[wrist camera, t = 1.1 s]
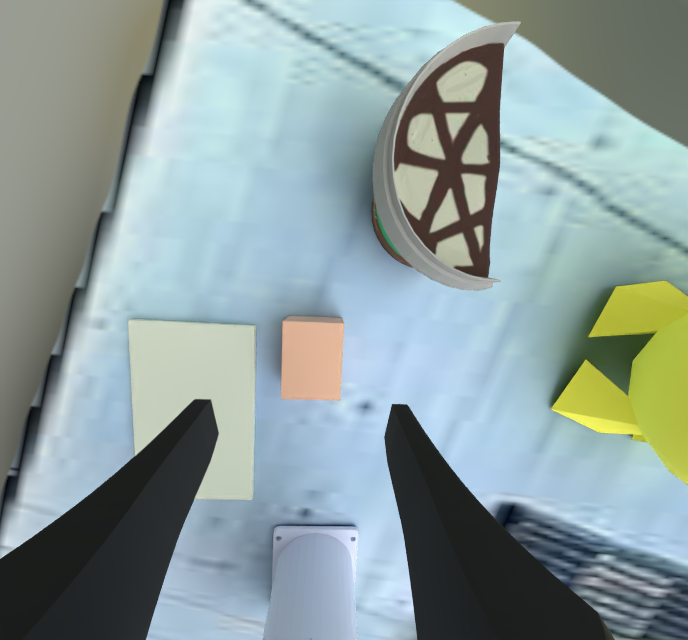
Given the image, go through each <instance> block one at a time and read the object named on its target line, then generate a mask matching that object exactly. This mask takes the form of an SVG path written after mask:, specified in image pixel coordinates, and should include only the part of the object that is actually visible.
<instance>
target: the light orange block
mask: <svg viewBox="0 0 688 640" xmlns="http://www.w3.org/2000/svg"><path fill="white" fill-rule="evenodd" d="M343 334H344V322H343V319H342V318H340V317H317V316H294V315H289V316H288V317H287V318H286V319H284V320H283V327H282V377H281V399H305V400H340V392H341V373H342V354H343Z"/></svg>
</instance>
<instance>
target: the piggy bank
mask: <svg viewBox="0 0 688 640" xmlns="http://www.w3.org/2000/svg"><path fill="white" fill-rule="evenodd" d="M638 334H655V335H654V336H653V337H652V338H651V340H650V341H649V342H648V343H647V344H646V346H645V347H644V348H643V349H642V350H641V351H640V353H639V354H638V355H637V356H636V357H635V359H634V360H633V362H632V369H631V377H630V384H629V392H628V396H627V395H626V394H625V393H624V392H623V391H622V390H621V389H619V388H618V387H617V386H616V385H615V384H614V383H613V382H611V381H610V380H609V379H608V378H607V377H606V376H604V375H603V374H602V373H601V372H600V371H599V370H598V369H596V368H595V367H594V366H593V365H592V364H591V363H590V362H588V361H587V360H585V361H584V363H583V364H582V366H581V367H580V368H579V370H578V371H577V373H576V374H575V375H574V377H573V378H572V380H571V381H570V383H569V384H568V385H567V387H566V388H565V390H564V391H563V392H562V394H561V395H560V397H559V398H558V400H557V401H556V402H555V404H554V405H553V407H552V408H551V410H553V411H555V412H557V413H559V414H561V415H564V416H566V417H568V418H570V419H572V420H574V421H576V422H578V423H580V424H582V425H584V426H586V427H589V428H591V429H593V430H595V431H597V432H599V433H616V434H633V437H632V440H637V441H643V442H648V443H649V444H650V446H651V447H652V448H653V450H654V451H655V452H656V454H657V455H658V456H659V458H660V459H661V461H662V462H663V463H664V465H665V466H666V467H667V469H668V470H669V471H670V472H671V473H672V474H674V475H675V476H676V477H678V478H679V479H680V480H682V481H683V482H684V483H686V484H687V485H688V296H687V295H685V294H684V293H683V292H681V291H680V290H678V289H677V288H676V287H674V286H673V285H671V284H670V283H669V282H667V281H657V282H649V283H641V284H633V285H625V286H617V287H616V288H615V289H614V291H613V293H612V295H611V297H610V298H609V300H608V302H607V304H606V306H605V307H604V309H603V311H602V313H601V315H600V316H599V318H598V320H597V322H596V324H595V325H594V327H593V329H592V331H591V332H590V334H589V336H588V337H600V336H619V335H638Z"/></svg>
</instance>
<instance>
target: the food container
mask: <svg viewBox="0 0 688 640" xmlns="http://www.w3.org/2000/svg"><path fill="white" fill-rule="evenodd" d="M520 23H521V22H520V21H519V22H502V23H498V24H493V25H489V26H485V27H482V28H479V29H477V30H475V31H472V32H470V33H468V34H465V35H464V36H462V37H460V38H459V39H457V40H456V41H454V42H453V43H451V44H450V45H448V46H447V47H446V48H444V49H443V50H441V51H439V52H438V53H437V54H436V55H434V56H433V57H432V58H431V59H430V60H429V61H428V62H427V63H426V64H424V65H423V66H422V67H421V69H420V70H419V71H418V72H417V74H416V75H415V76H414V77H413V78H412V80H411V81H410V82H409V83H408V85H407V86H406V87H405V89H404V90H403V91H402V92H401V94H400V95H399V96H398V98H397V99H396V100H395V102H394V104H393V105H392V107H391V109H390V111H389V112H388V114H387V116H386V118H385V120H384V123H383V125H382V128H381V130H380V133H379V135H378V140H377V144H376V148H375V153H374V160H373V172H372V178H373V193H374V199H373V202H372V222H373V226H374V231H375V233H376V235H377V238H378V240H379V241H380V243H381V245H382V246H383V248H384V249H385V250H386V251H387V252H388V253H389V254H390V255H391V256H392V257H393V258H394V259H396V260H397V261H399V262H401V263H402V264H405V265H407V266H409V267H413V268H415V269H416V270H417V271H419V272H420V273H422V274H424V275H425V276H427V277H428V278H430V279H432V280H434V281H436V282H439V283H441V284H443V285H446V286H449V287H453V288H458V289H462V290H473V291H479V290H483V289H486V288H490V287H493V282H501V280H498V279H492V278H488V275H489V266H490V257H489V255H490V237H491V225H492V217H493V209H494V203H495V196H496V190H497V183H498V175H499V168H500V98H501V83H502V69H503V56H504V48H505V46H506V44H507V43H508V41H509V40H510V38H511V37H512V35H513V34H514V32H515V31H516V29H517V28H518V26H519V25H520Z"/></svg>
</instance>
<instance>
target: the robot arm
mask: <svg viewBox="0 0 688 640" xmlns="http://www.w3.org/2000/svg"><path fill="white" fill-rule="evenodd" d="M218 435H219V432H218V427H217V423H216V419H215V414H214V410H213V406H212V402H211V399H194V400H193V401H192V402H191V403H190V404H189V405H188V406H187V407H186V408H185V409H184V410H183V411H182V412H181V413H180V414H179V415H178V416H177V417H176V418H175V419H174V420H173V421H172V422H171V423H170V424H169V425H168V426H167V427H166V428H165V429H164V430H163V431H161V432H160V433H159V434H158V435H157V436H156V437H155V438H154V439H153V440H152V441H151V442H150V443H149V444H148V445H147V446H146V447H145V448H143V449H142V450H141V451H140V452H139V453H138V454H137V455H136V456H135V457H133V458H132V459H131V460H130V461H129V462H128V463H127V464H125V465H124V466H123V467H122V468H121V469H120V470H119V471H118V472H116V473H115V474H114V475H113V476H112V477H110V478H109V479H108V480H107V481H106V482H104V483H103V484H102V485H101V486H100V487H98V488H97V489H96V490H95V491H93V492H92V493H91V494H90V495H88V496H87V497H86V498H85V499H83V500H82V501H81V502H79V503H78V504H77V505H76V506H74V507H73V508H72V509H70V510H69V511H67V512H66V513H65V514H63V515H62V516H61V517H59V518H58V519H57V520H55V521H54V522H53V523H51V524H50V525H48V526H47V527H46V528H44V529H43V530H42V531H40V532H39V533H37V534H36V535H35V536H33V537H32V538H30V539H29V540H28V541H26V542H25V543H23V544H22V545H20V546H19V547H17V548H16V549H14V550H13V551H11V552H10V553H8V554H7V555H5V556H4V557H2V558H1V559H0V640H146V637H147V634H148V630H149V627H150V624H151V620H152V617H153V613H154V610H155V607H156V604H157V601H158V597H159V594H160V591H161V588H162V585H163V582H164V579H165V575H166V572H167V569H168V566H169V563H170V560H171V557H172V555H173V552H174V549H175V546H176V543H177V540H178V537H179V535H180V532H181V529H182V527H183V524H184V522H185V520H186V517H187V515H188V513H189V510H190V508H191V506H192V503H193V501H194V499H195V497H196V494H197V492H198V490H199V487H200V485H201V483H202V480H203V478H204V476H205V473H206V471H207V469H208V466H209V464H210V461H211V458H212V455H213V452H214V449H215V446H216V442H217V439H218ZM384 437H385V446H386V454H387V462H388V467H389V471H390V476H391V480H392V485H393V489H394V493H395V498H396V502H397V506H398V511H399V515H400V519H401V524H402V529H403V534H404V540H405V547H406V554H407V561H408V568H409V575H410V583H411V590H412V598H413V606H414V614H415V623H416V631H417V639H418V640H614V638H613V636H612V634H611V633H610V631H609V629H608V628H607V626H606V625H605V623H604V622H603V620H602V619H601V617H600V615H599V614H598V612H597V611H595V610H594V609H593V608H592V607H591V606H589V605H588V604H587V603H586V602H585V601H584V600H582V599H581V598H580V597H579V596H578V595H576V594H575V593H574V592H573V591H572V590H571V589H569V588H568V587H567V586H566V585H565V584H563V583H562V582H561V581H560V580H559V579H558V578H556V577H555V576H554V575H553V574H552V573H551V572H550V571H549V570H547V569H546V568H545V567H544V566H543V565H542V564H541V563H540V562H539V561H538V560H537V559H535V558H534V557H533V556H532V555H531V554H530V553H529V552H528V551H527V550H526V549H525V548H524V547H523V546H522V545H521V544H520V543H519V542H518V541H517V540H516V539H515V538H514V537H513V536H512V535H511V534H510V533H509V532H508V531H507V530H506V529H505V528H504V527H503V526H502V525H501V524H500V523H499V522H498V521H497V520H496V519H495V518H494V517H493V516H492V515H491V514H490V513H489V512H488V511H487V510H486V509H485V508H484V506H483V505H482V504H481V503H480V502H479V501H478V500H477V499H476V498H475V496H474V495H473V494H472V493H471V492H470V491H469V490H468V488H467V487H466V486H465V485H464V484H463V482H462V481H461V480H460V479H459V477H458V476H457V475H456V474H455V472H454V471H453V470H452V469H451V467H450V466H449V465H448V463H447V462H446V461H445V459H444V458H443V457H442V455H441V454H440V453H439V451H438V450H437V449H436V447H435V446H434V444H433V443H432V442H431V440H430V439H429V437H428V436H427V434H426V433H425V431H424V430H423V428H422V427H421V425H420V424H419V422H418V421H417V419H416V417H415V416H414V414H413V413H412V411H411V410H410V408H409V406H408V405H405V404H392V407H391V411H390V415H389V419H388V424H387V428H386V432H385V436H384ZM277 536H280V537H277ZM358 536H359V533H358V528H357V527H354V526H277V527H275V529H274V533H273V563H272V593H271V598H270V604H269V609H268V614H267V620H266V625H265V630H264V636H263V640H358V632H357V619H356V606H355V594H354V587H355V575H356V562H357V549H358ZM352 537H353V538H352Z"/></svg>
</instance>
